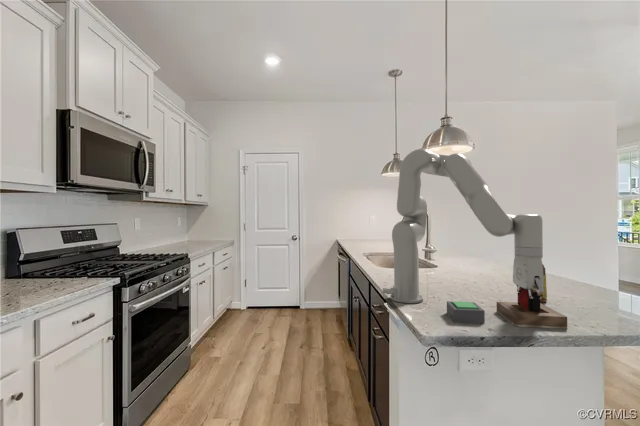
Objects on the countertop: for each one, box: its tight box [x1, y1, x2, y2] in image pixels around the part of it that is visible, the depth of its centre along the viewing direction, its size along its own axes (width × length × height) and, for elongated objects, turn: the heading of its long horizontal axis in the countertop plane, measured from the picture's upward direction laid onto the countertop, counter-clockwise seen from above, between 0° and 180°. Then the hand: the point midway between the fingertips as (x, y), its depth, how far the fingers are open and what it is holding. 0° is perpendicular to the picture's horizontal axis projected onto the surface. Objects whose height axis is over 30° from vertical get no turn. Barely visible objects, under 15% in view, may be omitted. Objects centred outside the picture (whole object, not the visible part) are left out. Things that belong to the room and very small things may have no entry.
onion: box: [517, 289, 534, 311], centre depth 99 cm, size 6×6×8 cm
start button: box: [451, 300, 478, 309], centre depth 100 cm, size 6×6×3 cm
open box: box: [496, 301, 568, 330], centre depth 99 cm, size 14×14×4 cm
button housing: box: [446, 300, 486, 324], centre depth 100 cm, size 9×9×4 cm
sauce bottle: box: [532, 263, 548, 303], centre depth 119 cm, size 6×6×20 cm
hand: (528, 307), depth 99 cm, fingers closed on onion, 5 cm apart
